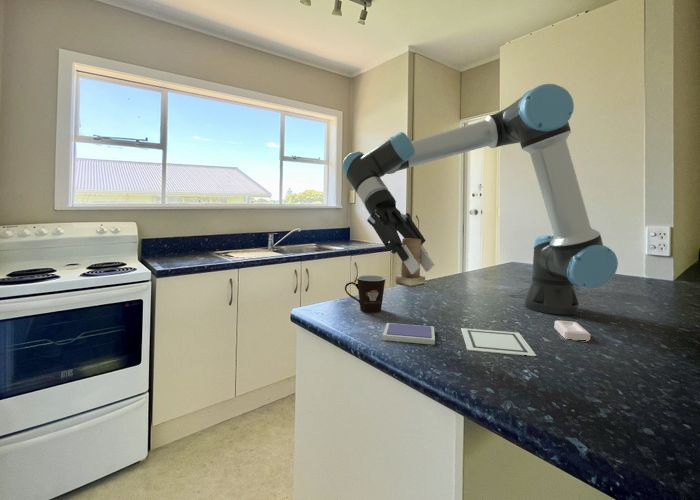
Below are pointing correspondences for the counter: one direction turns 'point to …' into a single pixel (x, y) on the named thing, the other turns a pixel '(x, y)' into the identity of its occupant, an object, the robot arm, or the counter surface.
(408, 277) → the stamp
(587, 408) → the counter surface
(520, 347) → the sheet
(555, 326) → the soap bar
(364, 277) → the coffee mug
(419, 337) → the ink pad
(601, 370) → the counter surface
